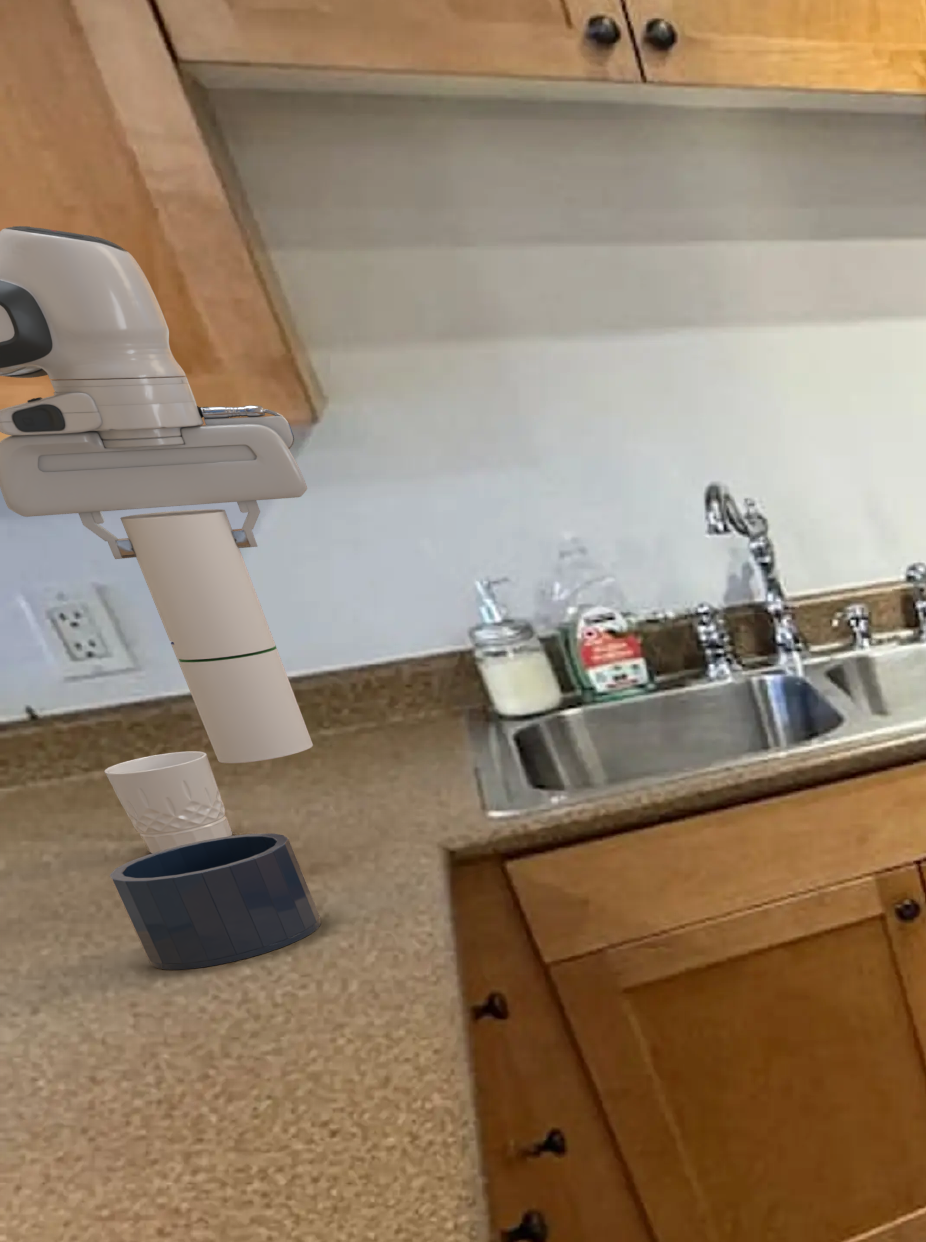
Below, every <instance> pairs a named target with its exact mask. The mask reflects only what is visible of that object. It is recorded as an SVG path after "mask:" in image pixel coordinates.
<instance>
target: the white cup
mask: <svg viewBox="0 0 926 1242" xmlns="http://www.w3.org/2000/svg"><path fill="white" fill-rule="evenodd" d="M103 772H104V774H105V776H106V777H107V779H108V781H109V783H110V785H111V788H113V791H114V793H115V795H116V797H117V799H118V800H119V803H120V805H121V807H122V808H123V810H124V812H125V813H126V816H127V818H128V819H129V821H130V823H132V826H133V828H134V830H135V831H136V832H137V833H138V835H139V837H140V838H141V841H142V842H143V845H144V847H145V849H146V850H147V851H148V852H149V853H150V854H152V853H155V852H159V851H162V850H166V849H169V848H173V847H177V846H181V845H186V844H190V843H195V842H199V841H204V840H209V839H215V838H221V837H227V836H233V831H232V828H231V826H230V822H229V820H228V817H227V816H226V807H225V805H224V802H223V800H222V795H221V792H220V789H219V785H218V783H217V780H216V778H215V774H214V772H213V768H212V766H211V763H210V760H209V757H208V754H207V753H206V752H204V751H196V750H193V751H191V750H190V751H176V752H175V751H174V752H167V753H161V754H155V755H148V756H144V757H138V758H134V759H131V760H126V761H123V762H119V763H116V764H114V765H111V766H108V767H107V768H105V770H104V771H103Z"/></svg>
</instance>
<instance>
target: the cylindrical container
mask: <svg viewBox="0 0 926 1242" xmlns="http://www.w3.org/2000/svg"><path fill="white" fill-rule="evenodd" d="M120 521H121V524H122V525H123V528H124V531H125V532H126V536H127V538H129V539H130V542H131V544H132V548H133V550H134V551H135V554H136V557H135V558H136V560H137V563H138V566H139V568H140V571H141V573H142V576H143V578H144V581H145V583H146V586H147V588H148V590H149V593H150V595H151V599H152V601H153V602H154V603H153V604H154V605H155V608H156V610H157V612H158V615H159V617H160V620H161V623H162V626H163V627H164V629H165V633H166V635H167V638H168V640H169V642H170V646H171V647H172V650H173V652H174V655H175V657H176V660H177V662H178V665H179V667H180V670H181V672H182V675H183V677H184V679H185V682H186V684H187V687H188V689H189V693H190V694H191V697H192V700H193V702H194V704H195V707H196V709H197V713H198V714H199V718H200V720H201V722H202V724H203V728H204V729H205V732H206V734H207V737H208V740H209V742H210V744H211V747H212V749H213V752H214V754H215V757H216V759H217V761H218V762H219V763H222V764H244V763H252V762H260V761H267V760H273V759H278V758H283V757H287V756H291V755H294V754H298V753H301V752H305V751H307V750H309V749H311V748H312V747H313V746H314V744H313V741H312V739H311V736H310V732H309V731H308V727H307V725H306V722H305V719H304V717H303V715H302V712H301V709H300V706H299V704H298V701H297V698H296V696H295V693H294V690H293V688H292V685H291V682H290V680H289V677H288V674H287V671H286V668H285V667H284V664H283V661H282V658H281V656H280V653H279V650H278V647H277V645H276V643H275V639H274V637H273V633H272V632H271V630H270V625H269V623H268V621H267V618H266V616H265V613H264V610H263V608H262V606H261V603H260V600H259V597H258V595H257V592H256V589H255V586H254V584H253V581H252V579H251V575H250V573H249V570H248V568H247V565H246V563H245V560H244V557H243V555H242V552H241V548H238V547H237V545H236V543H235V542H236V539H235V538H234V537H233V535H232V532H231V531H232V530H233V528H232V525H231V523H230V520H229V517H228V515H227V512H226V510H225V509H219V508H217V509H215V508H210V509H188V510H187V509H185V510H171V511H168V510H167V511H159V512H158V511H157V512H147V513H139V514H132V515H124V516H121V517H120Z"/></svg>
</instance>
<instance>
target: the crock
mask: <svg viewBox="0 0 926 1242" xmlns="http://www.w3.org/2000/svg"><path fill="white" fill-rule="evenodd" d="M109 879H110V881H111V883H112V885H113V887H114V889H115V891H116V893H117V895H118V898H119V900H120V902H121V904H122V907H123V909H124V910H125V914H126V915H127V917H128V920H129V921H130V924H131V926H132V928H133V931H134V933H135V935H136V937H137V940H138V942H139V944H140V946H141V949H142V950H143V952H144V954H145V957H146V958H147V960H148V962H149V964H150V966H151V967H153V968H155V969H159V970H166V971H177V970H180V971H181V970H191V969H200V968H201V969H202V968H207V967H213V966H214V967H215V966H220V965H224V964H229V963H233V962H239V961H241V960H246V959H249V958H252V957H256V956H259V955H263V954H266V953H270V952H273V951H276V950H278V949H280V948H284V947H286V946H288V945H291V944H293V943H296V942H298V941H300V940H302V939H304V938H307V937H308V936H310V935H311V934H313V933H314V932H316V931H317V930H318V929H319V928H320V926H321V925H322V920H321V919H320V913H319V911H318V909H317V906H316V904H315V900H314V898H313V896H312V894H311V890H310V888H309V886H308V884H307V881H306V879H305V876H304V874H303V871H302V869H301V866H300V864H299V861H298V858H297V857H296V854H295V852H294V849H293V847H292V844H291V842H290V839H289V838H288V837H287V836H285V835H283V834H278V833H246V834H236V835H232V836H227V837H221V838H215V839H209V840H204V841H199V842H195V843H190V844H186V845H181V846H177V847H173V848H169V849H166V850H162V851H159V852H155V853H149V854H146V855H143V856H140V857H138V858H135V859H132V860H129V861H128V862H125V863H123V864H121V865H120V866H118V867H116V868H115V869H113V871H112V872H110V874H109Z"/></svg>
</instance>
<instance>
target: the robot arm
mask: <svg viewBox="0 0 926 1242" xmlns="http://www.w3.org/2000/svg"><path fill="white" fill-rule="evenodd" d="M45 376H48V379H49V381H50V383H51V386H52V388H53V390H54V392H53V395H50V396H47V397H39V396H38V397H35V398H30V399H28V400H27V401H26V402H22V403H19V404H15V405H12V406H7V407H4V408H1V409H0V433H1V434H4V435H7V436H6V437H5V438H3V439H2V440H1V441H0V491H1V494H2V498H3V500H4V503H5V505H6V507H7V508H8V509H9V510H10V511H12V512H13V513H15V514H17V515H18V516H19V515H20V516H21V517H26V518H28V517H43V516H55V515H56V516H58V515H71V514H78V516H79V519H80V521H81V523H82V525H83V526H84V527H85V528H86V529H88V530H89V531H90V532H92V533H93V534H95V535H96V536H97V537H99V538H100V539H101V540H103V541H104V542H107V543H108V546H109V549H110V551H111V554H112V556H113V558H114V560H123V559H133V558H136V554H135V551H134V550H133V548H132V544H131V542H130V539H129V538H128V537H123V538H118V537H117V536H115V535H114V534H113V533H112V532H110V531H109V530H107V528H104V527H103V526H102V525H101V524H104V523H105V522H106V519H105V516H104V514H103V512H114V511H115V512H116V511H127V510H140V509H156V508H168V507H169V508H170V507H182V506H184V507H185V506H197V505H211V504H212V505H213V504H224V503H225V504H227V503H237V506H238V509H239V511H240V513H242V514H245V513H247V514H246V516H245V520H244V522H243V524H242V527H241V528H234V529H233V528H232V531H231V532H232V535H233V537H234V538H235V539H236V542H235V543H236V545H237V547H238V548H239V549H246V548H258V546H259V545H258V543H257V540H256V537H255V535H254V533H253V530H254V528H255V525H256V523H257V521H258V519H259V516H260V514H261V510H260V506H259V504H258V501H267V500H279V499H281V500H282V499H293V498H294V499H295V498H296V499H297V498H301V497H302V496H303V495H304V494H305V493H306V492H307V490H308V485H307V483H306V480H305V478H304V475H303V473H302V471H301V469H300V467H299V465H298V463H297V461H296V459H295V457H294V455H293V454H292V452H291V450H290V449H291V448H292V447H293V446H294V443H295V435H294V433H293V430H292V427H291V425H290V422H289V420H288V419H287V418H286V417H285V416H284V415H282V413H279V412H277V411H275V410H272V409H269V408H264V407H263V406H262V405H258V404H257V405H255V404H254V405H253V404H250V405H249V404H248V405H247V404H246V405H243V406H199V405H197V401H196V398H195V396H194V393H193V390H192V387H191V386H190V383H189V379H188V377H187V374H186V373H185V370H184V369H183V368H182V367H181V365H180V364H179V362H178V361H177V360H176V359H175V357H174V355H173V352H172V350H171V346H170V329H169V327H168V324H167V321H166V319H165V316H164V313H163V311H162V308H161V305H160V304H159V301H158V299H157V297H156V294H155V292H154V290H153V288H152V286H151V284H150V282H149V280H148V278H147V276H146V274H145V272H144V271H143V269H142V268H141V266H140V264H139V263H138V262H137V260H136V258H134V256H133V255H132V254H131V252H129V251H128V250H126V249H125V248H123V247H122V246H121V245H119V244H117V243H115V242H113V241H110V240H108V239H105V238H103V237H99V236H94V235H88V234H84V233H83V234H82V233H77V232H69V231H64V230H57V229H49V228H43V227H42V228H41V227H33V226H27V225H26V226H24V225H18V226H14V225H13V226H9V227H5V228H2V229H1V230H0V377H5V378H6V377H7V378H17V379H31V378H40V377H45ZM266 414H269V415H267V416H266Z"/></svg>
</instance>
